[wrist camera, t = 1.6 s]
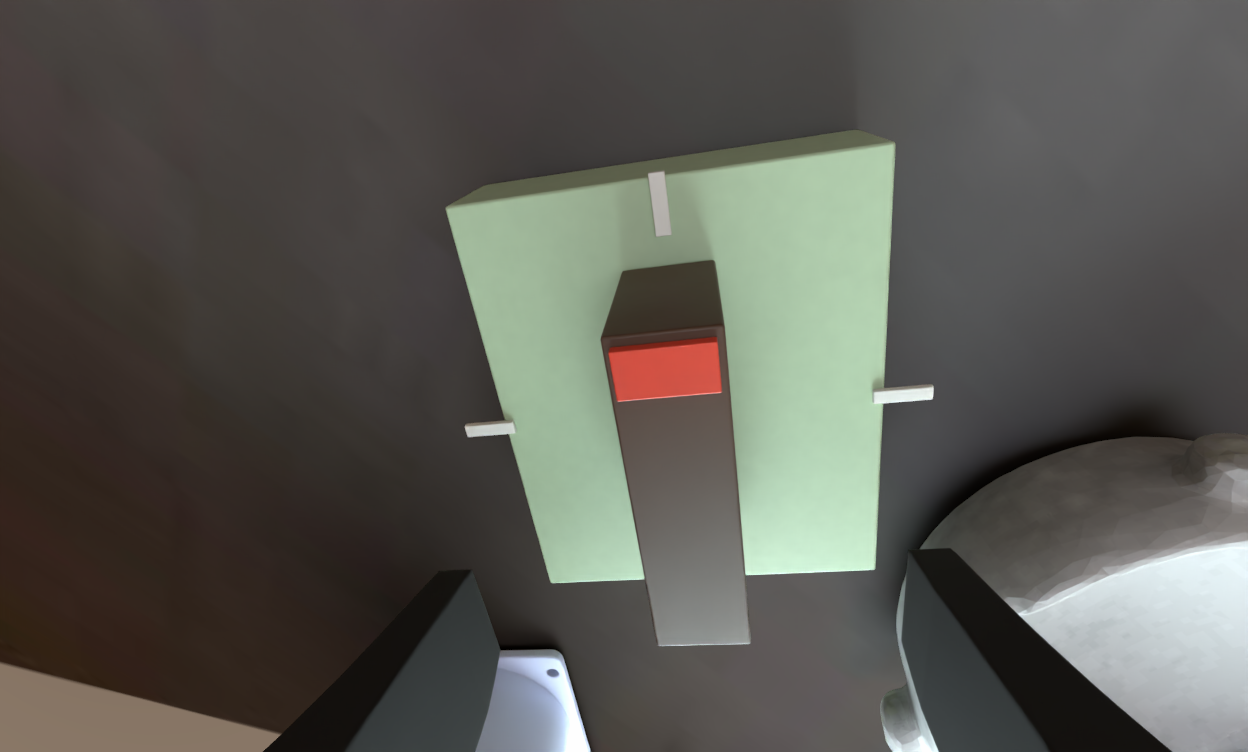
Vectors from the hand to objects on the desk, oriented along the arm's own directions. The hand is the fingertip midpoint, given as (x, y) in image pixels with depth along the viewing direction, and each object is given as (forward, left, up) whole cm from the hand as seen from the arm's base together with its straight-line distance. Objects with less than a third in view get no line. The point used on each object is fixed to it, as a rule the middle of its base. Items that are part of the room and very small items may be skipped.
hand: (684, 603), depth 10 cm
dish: (-11, -13, -10) cm, 19 cm away
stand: (0, 0, -9) cm, 9 cm away
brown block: (0, 0, -6) cm, 6 cm away
